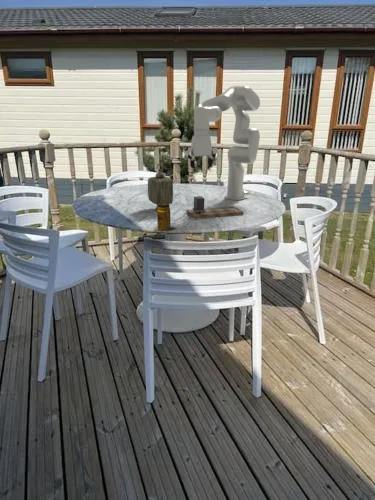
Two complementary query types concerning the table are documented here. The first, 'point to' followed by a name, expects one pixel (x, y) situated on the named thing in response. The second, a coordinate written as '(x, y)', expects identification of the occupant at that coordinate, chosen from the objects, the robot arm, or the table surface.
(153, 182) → the tabletop clock
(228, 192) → the robot arm
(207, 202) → the table surface
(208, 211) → the fader board
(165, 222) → the condiment
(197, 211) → the fader slider
